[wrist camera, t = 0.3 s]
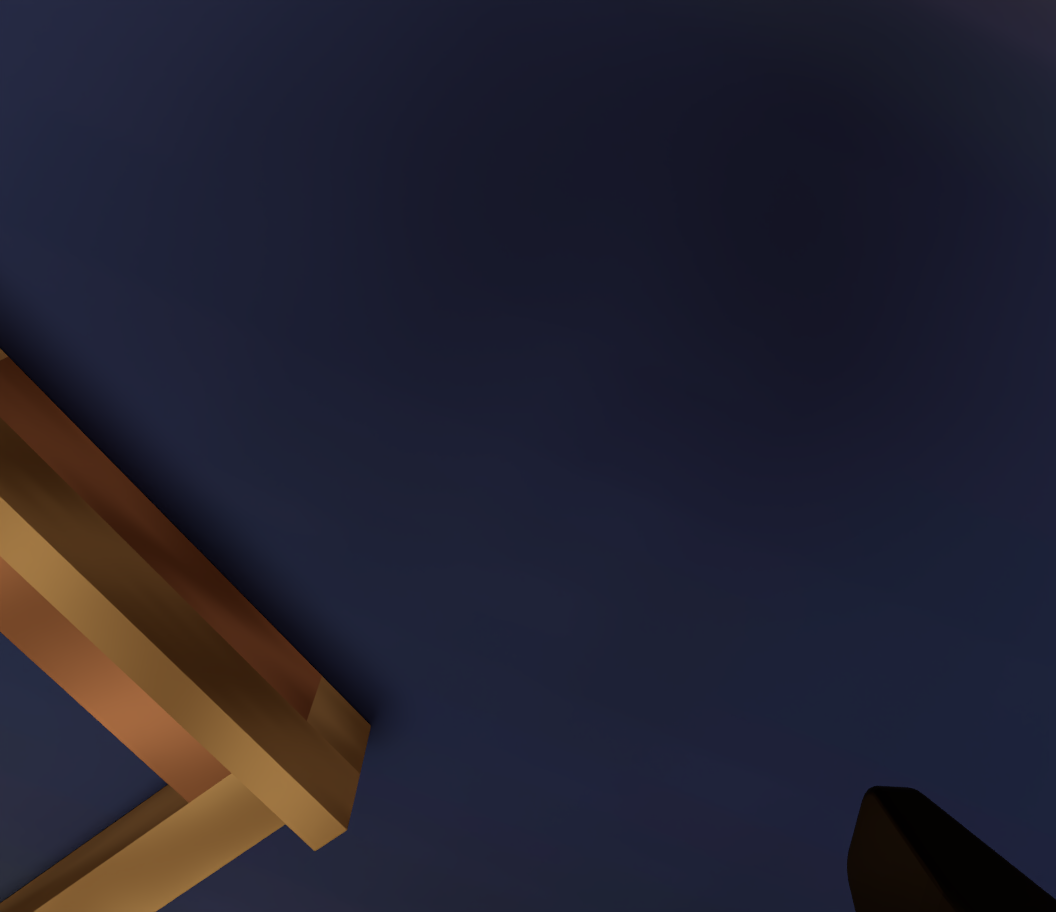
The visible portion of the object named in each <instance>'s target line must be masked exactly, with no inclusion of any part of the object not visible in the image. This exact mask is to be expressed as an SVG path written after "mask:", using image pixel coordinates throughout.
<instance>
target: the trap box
mask: <svg viewBox="0 0 1056 912" xmlns="http://www.w3.org/2000/svg"><path fill="white" fill-rule="evenodd" d="M0 632H1V633H2V634H4V635H5V636H6V637H7V638H8V639H9V640H10V641H11V642H12V643H13V644H15V645H16V646H17V647H18V648H19V649H20V650H21V651H22V652H23V653H24V654H26V655H27V656H28V657H29V658H30V659H31V660H32V661H33V662H34V663H35V664H37V665H38V666H39V667H40V668H41V669H42V670H43V671H44V672H45V673H46V674H48V675H49V676H50V677H51V678H52V679H53V680H54V681H55V682H56V683H57V684H59V685H60V686H61V687H62V688H63V689H64V690H65V691H66V692H67V693H68V694H70V695H71V696H72V697H73V698H74V699H75V700H76V701H77V702H78V703H79V704H81V705H82V706H83V707H84V708H85V709H86V710H87V711H88V712H89V713H90V714H92V715H93V716H94V717H95V718H96V719H97V720H98V721H99V722H100V723H101V724H103V725H104V726H105V727H106V728H107V729H108V730H109V731H110V732H111V733H112V734H114V735H115V736H116V737H117V738H118V739H119V740H120V741H121V742H122V743H123V744H125V745H126V746H127V747H128V748H129V749H130V750H131V751H132V752H133V753H134V754H136V755H137V756H138V757H139V758H140V759H141V760H142V761H143V762H144V763H145V764H147V765H148V766H149V767H150V768H151V769H152V770H153V771H154V772H155V773H156V774H158V775H159V776H160V777H161V778H162V779H163V780H164V781H165V782H166V783H167V784H168V785H167V786H166V787H164V788H163V789H161V790H160V791H158V792H157V793H156V794H154V795H153V796H151V797H150V798H149V799H147V800H146V801H144V802H143V803H141V804H140V805H139V806H137V807H136V808H134V809H133V810H132V811H130V812H129V813H127V814H126V815H125V816H123V817H122V818H120V819H119V820H117V821H116V822H115V823H113V824H112V825H110V826H109V827H108V828H106V829H105V830H103V831H102V832H100V833H99V834H98V835H96V836H95V837H93V838H92V839H91V840H89V841H88V842H86V843H85V844H84V845H82V846H81V847H79V848H78V849H76V850H75V851H74V852H72V853H71V854H69V855H68V856H67V857H65V858H64V859H62V860H61V861H59V862H58V863H57V864H55V865H54V866H52V867H51V868H50V869H48V870H47V871H45V872H44V873H43V874H41V875H40V876H38V877H37V878H35V879H34V880H33V881H31V882H30V883H28V884H27V885H26V886H24V887H23V888H21V889H20V890H18V891H17V892H16V893H14V894H13V895H11V896H10V897H9V898H7V899H6V900H4V901H3V902H2V903H0V912H156V911H157V910H159V909H160V908H162V907H163V906H165V905H166V904H168V903H169V902H170V901H172V900H173V899H175V898H176V897H178V896H179V895H181V894H182V893H184V892H185V891H187V890H188V889H190V888H191V887H193V886H194V885H196V884H197V883H199V882H200V881H202V880H203V879H205V878H206V877H208V876H209V875H211V874H212V873H214V872H215V871H216V870H218V869H219V868H221V867H222V866H224V865H225V864H227V863H228V862H230V861H231V860H233V859H234V858H236V857H237V856H239V855H240V854H242V853H243V852H245V851H246V850H248V849H249V848H251V847H252V846H254V845H255V844H257V843H258V842H260V841H261V840H262V839H264V838H265V837H267V836H268V835H270V834H271V833H273V832H274V831H276V830H277V829H279V828H280V827H282V826H283V825H285V824H286V825H287V826H288V827H289V828H291V829H292V830H293V831H294V832H295V833H296V834H297V835H298V836H299V837H300V838H301V839H302V840H303V841H304V842H305V843H307V844H308V845H309V846H310V847H311V848H312V849H313V850H314V851H316V850H318V849H319V848H321V847H322V846H324V845H325V844H327V843H328V842H330V841H331V840H333V839H334V838H336V837H337V836H339V835H340V834H342V833H343V832H345V831H346V830H347V828H348V824H349V820H350V815H351V811H352V806H353V802H354V798H355V793H356V789H357V785H358V780H359V776H360V772H361V767H362V763H363V758H364V754H365V750H366V745H367V741H368V737H369V732H370V728H371V725H370V724H369V723H368V722H367V721H366V720H365V719H364V718H363V717H362V716H361V715H360V714H359V713H358V712H357V711H356V710H355V709H354V708H353V707H352V706H351V705H350V704H349V703H348V702H347V701H346V700H345V699H344V698H343V697H342V696H341V695H340V694H339V693H338V692H337V691H336V690H335V689H334V688H333V687H332V686H331V685H330V684H329V683H328V682H327V681H326V680H325V679H324V677H323V676H322V675H321V674H320V673H319V672H318V671H317V670H316V669H315V668H314V667H313V666H312V665H311V664H310V663H309V662H308V661H307V660H306V659H305V658H304V657H303V656H302V655H301V654H300V653H299V652H298V651H297V650H296V649H295V648H294V647H293V646H292V645H291V644H290V643H289V642H288V641H287V640H286V639H285V638H284V637H283V636H282V635H281V634H280V633H279V632H278V631H277V630H276V629H275V628H274V627H273V626H272V625H271V624H270V623H269V622H268V621H267V619H266V618H265V617H264V616H263V615H262V614H261V613H260V612H259V611H258V610H257V609H256V608H255V607H254V606H253V605H252V604H251V603H250V602H249V601H248V600H247V599H246V598H245V597H244V596H243V595H242V594H241V593H240V592H239V591H238V590H237V589H236V588H235V587H234V586H233V585H232V584H231V583H230V582H229V581H228V580H227V579H226V578H225V577H224V576H223V575H222V574H221V573H220V572H219V571H218V570H217V569H216V568H215V567H214V566H213V565H212V564H211V562H210V561H209V560H208V559H207V558H206V557H205V556H204V555H203V554H202V553H201V552H200V551H199V550H198V549H197V548H196V547H195V546H194V545H193V544H192V543H191V542H190V541H189V540H188V539H187V538H186V537H185V536H184V535H183V534H182V533H181V532H180V531H179V530H178V529H177V528H176V527H175V526H174V525H173V524H172V523H171V522H170V521H169V520H168V519H167V518H166V517H165V516H164V515H163V514H162V513H161V512H160V511H159V510H158V509H157V508H156V507H155V506H154V504H153V503H152V502H151V501H150V500H149V499H148V498H147V497H146V496H145V495H144V494H143V493H142V492H141V491H140V490H139V489H138V488H137V487H136V486H135V485H134V484H133V483H132V482H131V481H130V480H129V479H128V478H127V477H126V476H125V475H124V474H123V473H122V472H121V471H120V470H119V469H118V468H117V467H116V466H115V465H114V464H113V463H112V462H111V461H110V460H109V459H108V458H107V457H106V456H105V455H104V454H103V453H102V452H101V451H100V450H99V449H98V448H97V446H96V445H95V444H94V443H93V442H92V441H91V440H90V439H89V438H88V437H87V436H86V435H85V434H84V433H83V432H82V431H81V430H80V429H79V428H78V427H77V426H76V425H75V424H74V423H73V422H72V421H71V420H70V419H69V418H68V417H67V416H66V415H65V414H64V413H63V412H62V411H61V410H60V409H59V408H58V407H57V406H56V405H55V404H54V403H53V402H52V401H51V400H50V399H49V398H48V397H47V396H46V395H45V394H44V393H43V392H42V391H41V390H40V388H39V387H38V386H37V385H36V384H35V383H34V382H33V381H32V380H31V379H30V378H29V377H28V376H27V375H26V374H25V373H24V372H23V371H22V370H21V369H20V368H19V367H18V366H17V365H16V364H15V363H14V362H13V361H12V360H11V359H10V358H9V357H8V356H7V355H6V354H5V353H4V352H3V351H2V350H1V349H0Z"/></svg>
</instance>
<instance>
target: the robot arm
mask: <svg viewBox="0 0 1056 912" xmlns="http://www.w3.org/2000/svg"><path fill="white" fill-rule="evenodd" d="M847 873H848V881H849V886H850V890H851V894H852V899H853V903H854V907H855V911H856V912H1056V899H1054V898H1053V897H1052V896H1051V895H1049V894H1048V893H1047V892H1046V891H1044V890H1043V889H1042V888H1041V887H1039V886H1038V885H1037V884H1035V883H1034V882H1033V881H1032V880H1030V879H1029V878H1028V877H1027V876H1025V875H1024V874H1023V873H1022V872H1020V871H1019V870H1018V869H1017V868H1015V867H1014V866H1013V865H1012V864H1010V863H1009V862H1008V861H1007V860H1005V859H1004V858H1003V857H1002V856H1000V855H999V854H998V853H996V852H995V851H994V850H993V849H991V848H990V847H989V846H988V845H986V844H985V843H984V842H983V841H981V840H980V839H979V838H978V837H976V836H975V835H974V834H973V833H971V832H970V831H969V830H968V829H966V828H965V827H964V826H963V825H961V824H960V823H959V822H957V821H956V820H955V819H954V818H952V817H951V816H950V815H949V814H947V813H946V812H945V811H944V810H942V809H941V808H940V807H939V806H937V805H936V804H935V803H934V802H932V801H931V800H930V799H929V798H927V797H926V796H925V795H923V794H922V793H921V792H919V791H918V790H915V789H913V788H908V787H890V786H874V787H871V788H870V789H868V790H867V792H866V793H865V795H864V797H863V800H862V803H861V807H860V811H859V814H858V818H857V822H856V826H855V829H854V833H853V837H852V841H851V844H850V848H849V852H848V859H847Z"/></svg>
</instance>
